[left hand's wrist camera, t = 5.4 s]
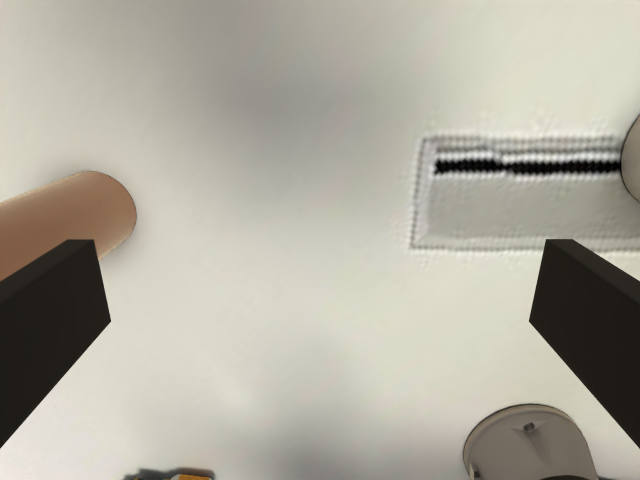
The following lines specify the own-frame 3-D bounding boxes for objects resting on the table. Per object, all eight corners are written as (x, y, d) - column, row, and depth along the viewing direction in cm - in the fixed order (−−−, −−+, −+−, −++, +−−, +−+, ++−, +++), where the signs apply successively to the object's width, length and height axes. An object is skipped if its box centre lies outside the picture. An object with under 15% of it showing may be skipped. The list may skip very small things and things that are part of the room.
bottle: (66, 246, 45) (-190, 414, 22) (48, 171, 42) (-269, 276, 19) (142, 246, 45) (-38, 412, 22) (129, 170, 42) (-94, 275, 19)
